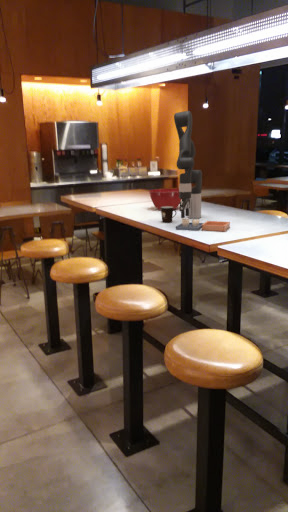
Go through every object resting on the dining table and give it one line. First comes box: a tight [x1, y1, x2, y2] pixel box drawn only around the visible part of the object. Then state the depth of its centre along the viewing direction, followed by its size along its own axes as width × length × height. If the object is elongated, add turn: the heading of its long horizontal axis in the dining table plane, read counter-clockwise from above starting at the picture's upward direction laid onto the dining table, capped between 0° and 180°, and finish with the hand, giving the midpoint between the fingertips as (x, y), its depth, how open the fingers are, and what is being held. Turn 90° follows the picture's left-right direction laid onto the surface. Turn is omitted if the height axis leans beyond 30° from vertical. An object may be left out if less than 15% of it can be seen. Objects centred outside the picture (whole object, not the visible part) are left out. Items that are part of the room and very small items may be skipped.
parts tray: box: [175, 221, 205, 232], centre depth 263 cm, size 16×14×2 cm
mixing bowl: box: [148, 188, 182, 211], centre depth 338 cm, size 28×28×16 cm
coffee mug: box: [160, 206, 177, 224], centre depth 282 cm, size 12×9×10 cm
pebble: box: [191, 218, 200, 227], centre depth 261 cm, size 4×4×4 cm
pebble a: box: [181, 218, 190, 227], centre depth 264 cm, size 4×4×4 cm
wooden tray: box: [201, 220, 231, 233], centre depth 257 cm, size 14×14×4 cm
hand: (185, 216), depth 263 cm, fingers open, 8 cm apart
